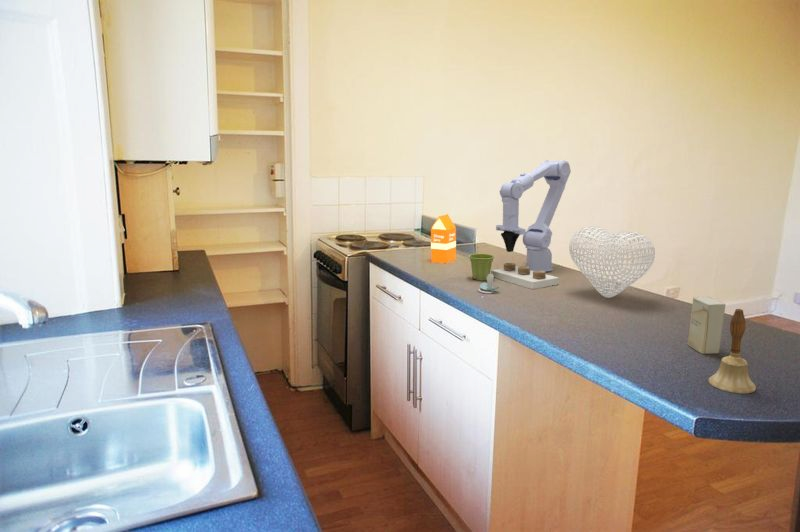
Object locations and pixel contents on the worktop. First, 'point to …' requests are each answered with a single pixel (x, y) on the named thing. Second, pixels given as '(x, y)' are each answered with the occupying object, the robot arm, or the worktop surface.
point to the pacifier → (488, 285)
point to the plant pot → (481, 265)
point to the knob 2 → (539, 274)
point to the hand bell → (734, 362)
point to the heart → (616, 236)
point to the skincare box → (706, 325)
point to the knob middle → (523, 270)
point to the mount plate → (524, 278)
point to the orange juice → (443, 240)
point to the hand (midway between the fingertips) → (509, 251)
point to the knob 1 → (509, 266)
